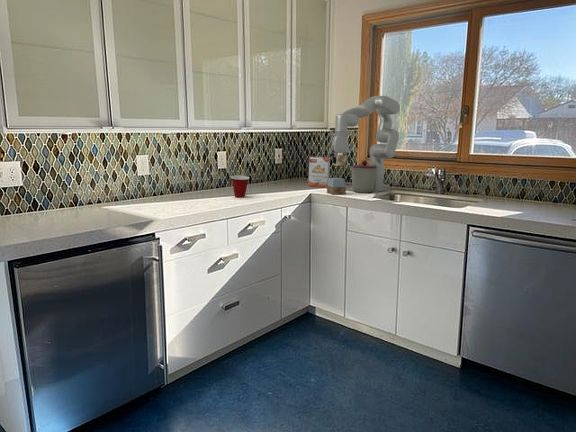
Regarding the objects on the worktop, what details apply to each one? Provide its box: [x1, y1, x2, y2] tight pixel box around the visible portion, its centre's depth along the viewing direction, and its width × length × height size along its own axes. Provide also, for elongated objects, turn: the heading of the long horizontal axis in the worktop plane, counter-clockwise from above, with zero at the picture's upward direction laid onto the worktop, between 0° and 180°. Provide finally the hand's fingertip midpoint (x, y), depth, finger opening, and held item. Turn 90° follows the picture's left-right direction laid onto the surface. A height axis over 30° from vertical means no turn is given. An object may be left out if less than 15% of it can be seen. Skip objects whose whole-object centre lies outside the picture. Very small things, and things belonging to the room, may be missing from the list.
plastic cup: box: [230, 175, 250, 199], centre depth 255 cm, size 11×11×12 cm
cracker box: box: [307, 156, 331, 188], centre depth 312 cm, size 14×6×21 cm, turn 73°
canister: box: [350, 159, 378, 194], centre depth 291 cm, size 18×18×21 cm
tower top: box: [328, 177, 346, 187], centre depth 280 cm, size 8×8×5 cm
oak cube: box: [332, 154, 347, 167], centre depth 276 cm, size 6×6×6 cm
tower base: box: [326, 186, 347, 196], centre depth 281 cm, size 9×9×5 cm
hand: (339, 163), depth 276 cm, fingers closed on oak cube, 6 cm apart
